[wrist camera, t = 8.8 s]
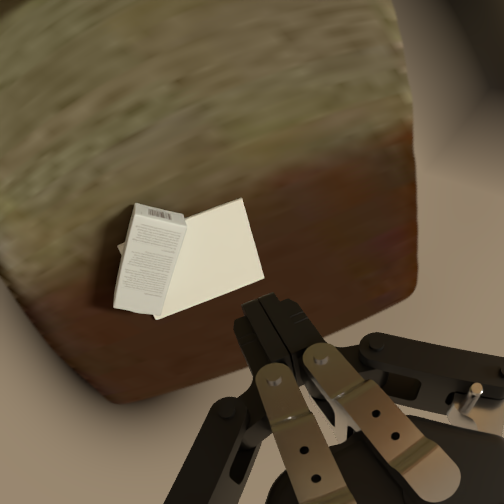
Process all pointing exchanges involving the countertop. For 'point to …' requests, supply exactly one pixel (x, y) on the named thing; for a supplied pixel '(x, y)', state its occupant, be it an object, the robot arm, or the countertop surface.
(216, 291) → the mat
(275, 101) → the countertop surface
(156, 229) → the skincare box
